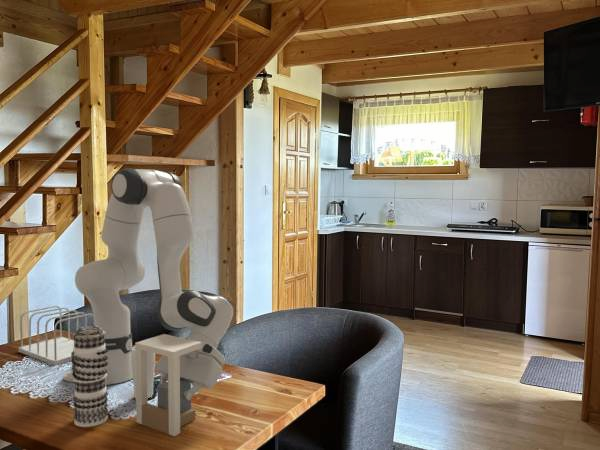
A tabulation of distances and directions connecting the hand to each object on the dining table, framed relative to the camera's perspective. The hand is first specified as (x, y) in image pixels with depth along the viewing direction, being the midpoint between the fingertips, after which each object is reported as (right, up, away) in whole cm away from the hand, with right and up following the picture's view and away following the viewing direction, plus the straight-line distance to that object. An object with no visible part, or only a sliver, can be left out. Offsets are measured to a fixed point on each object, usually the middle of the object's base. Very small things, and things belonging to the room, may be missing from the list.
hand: (172, 395), depth 142 cm
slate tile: (0, -7, +1) cm, 7 cm away
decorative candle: (-22, -7, 0) cm, 23 cm away
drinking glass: (-12, -6, +16) cm, 21 cm away
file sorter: (-56, -3, +57) cm, 80 cm away
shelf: (0, -7, 0) cm, 7 cm away
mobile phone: (+4, -5, +35) cm, 36 cm away
